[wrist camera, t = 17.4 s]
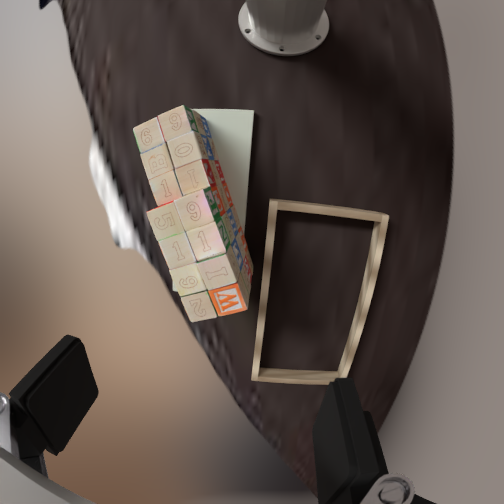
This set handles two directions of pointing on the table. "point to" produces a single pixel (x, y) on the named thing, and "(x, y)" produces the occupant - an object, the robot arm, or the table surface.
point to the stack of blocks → (195, 215)
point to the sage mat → (232, 152)
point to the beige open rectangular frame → (363, 300)
